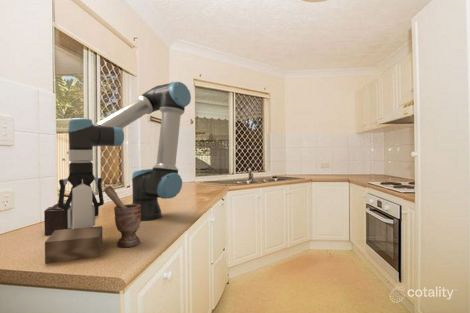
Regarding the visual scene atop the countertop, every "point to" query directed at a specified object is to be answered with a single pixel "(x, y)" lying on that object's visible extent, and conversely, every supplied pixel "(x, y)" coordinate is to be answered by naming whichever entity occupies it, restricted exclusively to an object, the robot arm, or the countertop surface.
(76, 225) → the milk
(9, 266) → the countertop surface
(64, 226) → the coffee grinder
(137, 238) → the mortar and pestle
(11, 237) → the countertop surface
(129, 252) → the countertop surface
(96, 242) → the riser
